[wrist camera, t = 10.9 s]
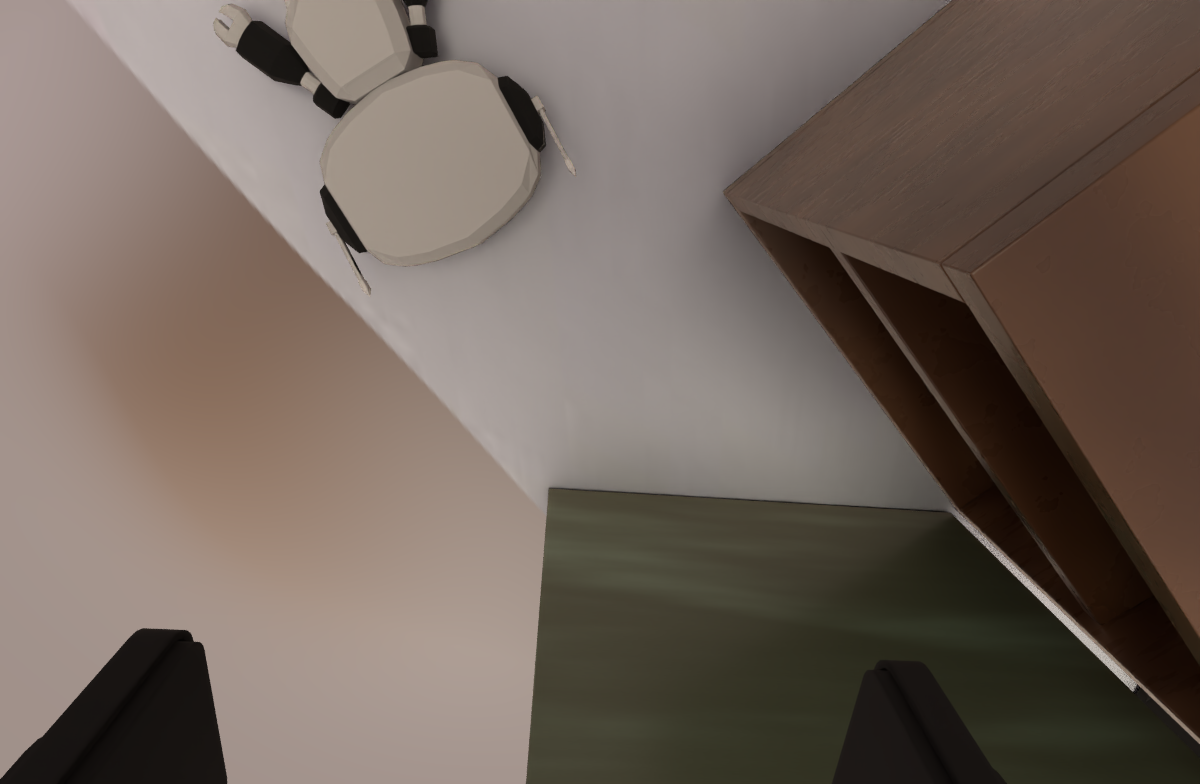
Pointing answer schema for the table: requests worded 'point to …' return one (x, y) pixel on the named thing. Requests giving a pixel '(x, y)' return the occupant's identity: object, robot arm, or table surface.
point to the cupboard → (1027, 293)
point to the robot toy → (402, 127)
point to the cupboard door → (803, 647)
